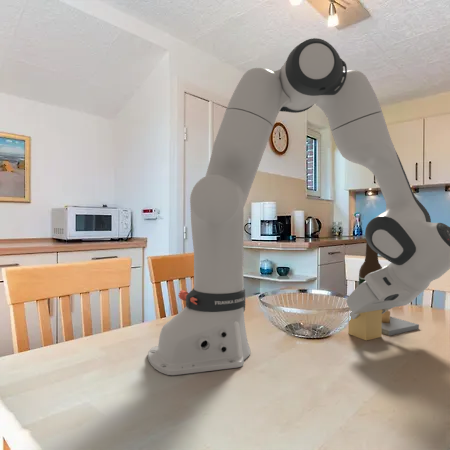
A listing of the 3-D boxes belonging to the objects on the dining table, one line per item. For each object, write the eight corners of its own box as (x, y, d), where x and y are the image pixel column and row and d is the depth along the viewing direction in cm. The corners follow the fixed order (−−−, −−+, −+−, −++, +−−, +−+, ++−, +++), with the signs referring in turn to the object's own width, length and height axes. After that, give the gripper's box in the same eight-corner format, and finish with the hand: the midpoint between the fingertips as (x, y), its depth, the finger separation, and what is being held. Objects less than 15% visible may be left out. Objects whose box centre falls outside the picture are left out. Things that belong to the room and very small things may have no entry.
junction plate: (389, 335, 90) (389, 319, 90) (352, 323, 100) (352, 308, 100) (418, 328, 95) (419, 313, 95) (381, 317, 106) (381, 304, 106)
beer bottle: (385, 309, 115) (386, 237, 115) (382, 315, 109) (383, 238, 108) (360, 306, 119) (361, 236, 119) (356, 311, 113) (356, 237, 112)
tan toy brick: (365, 340, 86) (366, 303, 86) (348, 333, 91) (348, 298, 91) (381, 337, 89) (381, 300, 89) (363, 330, 94) (363, 296, 93)
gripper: (420, 268, 87) (385, 299, 96) (362, 274, 78) (330, 307, 87) (437, 289, 84) (400, 319, 92) (379, 298, 74) (343, 330, 83)
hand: (365, 313), depth 90 cm, fingers open, 8 cm apart
